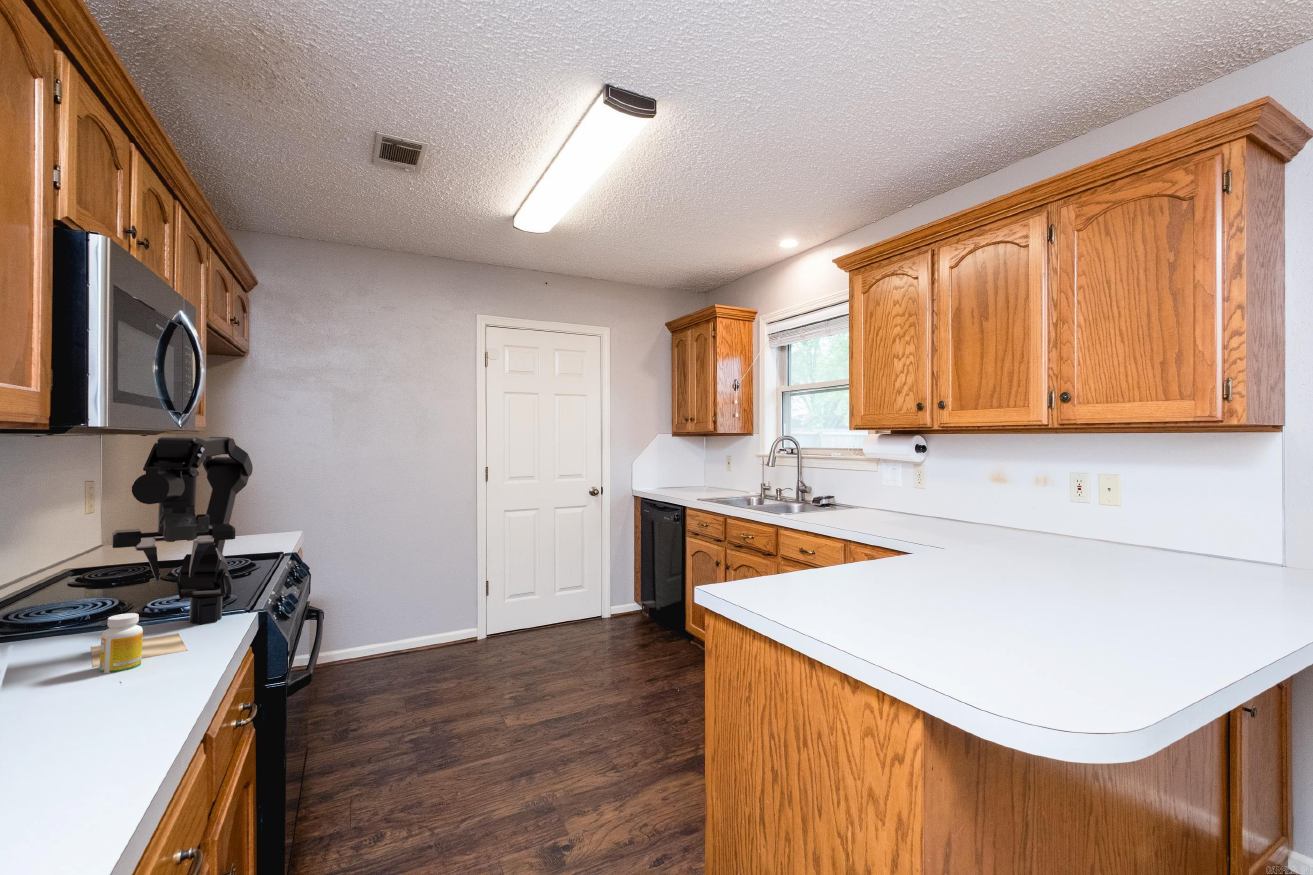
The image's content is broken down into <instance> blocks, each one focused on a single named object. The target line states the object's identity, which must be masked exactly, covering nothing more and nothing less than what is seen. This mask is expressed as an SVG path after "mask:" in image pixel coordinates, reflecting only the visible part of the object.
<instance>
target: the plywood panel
mask: <svg viewBox="0 0 1313 875" xmlns="http://www.w3.org/2000/svg"><path fill="white" fill-rule="evenodd" d="M90 651H91V661H92V668H96V667H100V653H101V645H95V646H91V647H90ZM187 651H188V648H187V645H186V644H185V643H184V641H183V639H182V636H181V635H180V633H171V634H165V635H160V636H153V637H152V636H151V637H146V638H142V656H141V660H142V659H143V660H144V659H147V658H153V657H159V656H165V655H171V654H176V653H181V652H187Z"/></svg>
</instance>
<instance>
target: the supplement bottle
mask: <svg viewBox="0 0 1313 875" xmlns="http://www.w3.org/2000/svg"><path fill="white" fill-rule="evenodd" d="M139 617H140V616H139V614H138V613H135V612H131V613H127V612H126V613H121V614H115V615H112V616H109V617H108V618H107V624H106V625H107V627H108V628H106V629H105V630H104V631H103V632H102V634H101V635H100V636H101V639H100V646H101V653H100V666H99V672H100V673H105V674H110V673H111V674H112V673H113V674H115V673H120V672H125V671H129V670H133V669H135V668H138V667H140V666H141V665H142V659H141V656H142V639H143V633H144V629H143V627H142V626H140V625H138V623H139V621H140V619H139Z"/></svg>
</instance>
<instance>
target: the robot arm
mask: <svg viewBox="0 0 1313 875" xmlns="http://www.w3.org/2000/svg"><path fill="white" fill-rule="evenodd" d="M221 455H228V456H221ZM201 464H202V466H203V468H204V471H205V472H206V479H207V482H208V483H209V485H210V487H211V492H210V496H209V500H208V503H207V504H208V505H207V509H206V513H199V514H196V499H197V497H196V496H197V478H198V477H199V476H200V472H199V471H198V470H197V469H199V468H200V466H201ZM253 469H254V468H253V463H252V460H251V457H250V455H249V453H248V452H246V451H245V450H244V449H242V448H241V447H239V446H238V445H237V444H236V441H235V439H234V438H232V437H229V436H209V437H206V438H201V437H187V436H186V437H184V436H183V437H182V436H180V437H179V436H178V437H177V436H161V437H159V438H158V439H157V442H154V444H153V446H152V448H151V450H150V453H149V454H148V457H147V459H146V461H145V463H144V466H143V468H142V471H143V472H145V473H144V474H142V475H139V476H138V477H137V478H136V479H135V480H134V482H133V484H132V485H131V493H132V495H133V498H134V499H136V500H137V501H138V502H139V503H141V504H144V505H156V504H158V514H157V515H158V516H157V531H144V532H142V531H141V529H140V528H132V529H131V528H130V529H116V530H115V531H113V532H112V533H111V547H112V549H122V548H134V549H135V551H137V552H143V553H144V555H145V557H146V558H147V560H148V563H149V565H150V569H151V571H152V574H153V576H154V579H155V581H156V582H159V581H160V570H159V568H160V566H159V560H158V551H157V550H158V548H157V546H156V545H155V544H156V542H161V541H162V542H163V541H164V542H167V543H174V542H178V541H187V542H189V541H193V542H192V548H191V553H187V554H185V556H184V557H183V560H182V564H181V568H180V571H178V574H177V577H176V584H177V590H178V598H179V599H180V600H181V599H187V598H188V599H189V600H190V601H189V620H188V621H189V622H188V623H190V624H193V625H202V626H203V625H208V624H215V623H217V622H218V621H220V620H222V618H223V617H222V616H223V615H222V614H223V598H224V597H226V596H230V595H233V592H234V591H233V590H234V585H235V582H234V580H233V578H232V576H231V574H230V572H229V570H228V569H229V564H228V562H227V560H226V558H225V555H224V553H223V552H224V548H225V544H226V541H231V540H235V539H236V527H235V526H233V525H232V524H230V522H231V518H232V513H233V510H234V506H235V500H236V497H237V495H238V493H240V492H241V491H242V490H243V489H244V488H245V487H246V486H247V484H248V483H249V482H248V481H249V479H250V477H251V476H252V474H253Z"/></svg>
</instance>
